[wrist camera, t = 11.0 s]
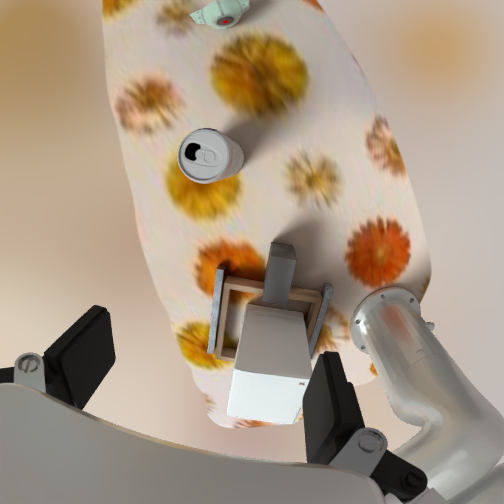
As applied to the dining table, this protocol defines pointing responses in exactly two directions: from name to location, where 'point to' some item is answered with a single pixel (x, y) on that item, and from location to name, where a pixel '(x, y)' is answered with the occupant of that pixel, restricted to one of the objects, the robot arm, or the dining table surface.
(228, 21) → the robot head
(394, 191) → the dining table surface
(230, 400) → the supplement box
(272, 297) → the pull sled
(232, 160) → the energy drink
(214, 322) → the lane rails
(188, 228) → the dining table surface
